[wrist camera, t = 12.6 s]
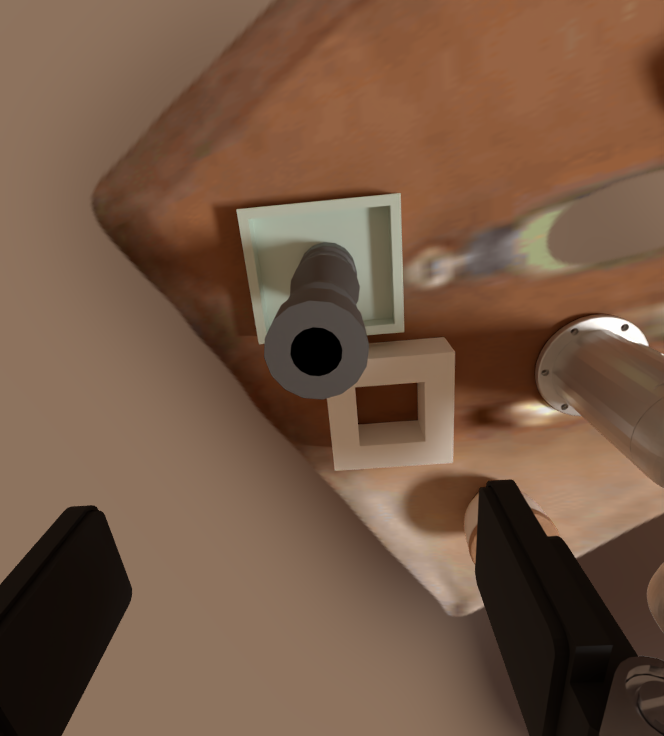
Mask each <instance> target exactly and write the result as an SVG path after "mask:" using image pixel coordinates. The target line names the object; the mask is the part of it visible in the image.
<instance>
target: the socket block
mask: <svg viewBox="0 0 664 736" xmlns="http://www.w3.org/2000/svg"><path fill="white" fill-rule="evenodd" d="M405 383H417V393H418V420H412V421H399V422H385V423H371V424H358V418H357V405H356V392H355V387H366V386H379V385H392V384H405ZM454 386H455V351H454V350H453V348H452V347H451V346H450V344H449V343H448V341H447V340H446V339H445V337H438V338H426V339H414V340H402V341H390V342H378V343H369V353H368V361H367V367H366V368H365V370H364V372H363V373H362V375H361V377H360V378H359V380H358V382H357V383H356V384H354V385H353V386H352V387H350V388H349V389H348V390H346V391H345V392H344V393H342V394H340V395H337V396H333V397H330V398H327V403H328V412H329V422H330V431H331V440H332V449H333V459H334V468H335V471H340V470H355V469H370V468H384V467H399V466H414V465H428V464H443V463H453V435H454Z"/></svg>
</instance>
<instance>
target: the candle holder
mask: <svg viewBox="0 0 664 736" xmlns="http://www.w3.org/2000/svg"><path fill="white" fill-rule="evenodd" d="M359 291H360V285H359V282H358V279H357V270H356V267H355V263H354V260H353V257H352V256H351V255H350V253H349V252H348V251H347V250H346V248H344V247H342V246H340V245H338V244H336V243H330V242H323V243H320V244H317V245H313V246H312V247H311V248H310V249H309V250H308V251H307V252H305V253H304V255H303V257H302V259H301V261H300V263H299V265H298V267H297V269H296V271H295V273H294V275H293V277H292V279H291V285H290V296H289V298H288V300H287V301H285V302H284V303H283V304H282V305H281V306H280V308H279V310H278V312H277V314H276V316H275V318H274V320H273V322H272V324H271V326H270V328H269V330H268V332H267V334H266V337H265V347H264V358H265V361H266V363H267V366H268V368H269V371H270V373H271V375H272V377H273V378H274V379H275V380H276V381H277V382H278V383H279V384H280V385H281V386H282V387H283V388H284V389H285V390H287V391H289V392H292V393H294V394H296V395H298V396H300V397H302V398H311V399H326V398H330V397H333V396H337V395H340V394H342V393H344V392H345V391H346V390H348V389H349V388H350V387H352V386H353V385H354V384H356V383H357V382H358V380H359V378H360V377H361V375H362V373H363V372H364V370H365V368H366V367H367V361H368V353H369V343H368V338H367V333H366V329H365V325H364V322H363V319H362V315H361V312H360V311H359V310H358V309H357V306H356V304H357V302H358V300H359Z"/></svg>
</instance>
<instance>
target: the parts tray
mask: <svg viewBox="0 0 664 736" xmlns="http://www.w3.org/2000/svg"><path fill="white" fill-rule="evenodd" d="M236 211H237V217H238V222H239V228H240V234H241V240H242V246H243V252H244V258H245V264H246V270H247V276H248V282H249V288H250V294H251V300H252V306H253V312H254V318H255V324H256V330H257V336H258V342H259V344H265V337H266V334H267V332H268V330H269V328H270V326H271V324H272V322H273V320H274V318H275V316H276V314H277V312H278V310H279V308H280V306H281V305H282V304H283V303H284V302H285V301H287V300H288V298H289V296H290V285H291V279H292V277H293V275H294V273H295V271H296V269H297V267H298V265H299V263H300V261H301V259H302V257H303V255H304V253H305V252H307V251H308V250H309V249H310V248H311V247H312V246H313V245H317V244H320V243H323V242H330V243H336V244H338V245H340V246H342V247H344V248H346V250H347V251H348V252H349V253H350V255H351V256H352V257H353V260H354V263H355V267H356V270H357V279H358V282H359V285H360V291H359V300H358V302H357V304H356V306H357V309H358V310H359V311H360V312H361V315H362V319H363V322H364V325H365V329H366V333H367V335H376V334H388V333H400V332H404V301H403V265H402V230H401V194H400V193H393V194H383V195H373V196H363V197H353V198H343V199H332V200H322V201H312V202H302V203H292V204H282V205H272V206H262V207H252V208H242V209H236Z"/></svg>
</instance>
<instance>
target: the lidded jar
mask: <svg viewBox="0 0 664 736" xmlns="http://www.w3.org/2000/svg"><path fill="white" fill-rule="evenodd" d="M521 493H522V495H523V496H524V498H525V500H526V501H527V503H528V505H529V506H530V508H531V510H532V511H533V513H534V515H535V516H536V518H537V520H538V521H539V523H540V525H541V526H542V528H543V530H544V531H545V533H546V535H547V536H559V533H558V530H557V528H556V527H555V525H554V523H553V522H552V521H551V520H550V519H549V517H548V516H547V515H546V513H545V512H544V510H543V509H542V508H541V507H540V506H539V505H538V504H537V502H535V501H534V500H533V499H532V498H531V497H530V496H528V495H527V494H525V493H523V492H521ZM478 500H479V493H478V494H477V495H476V496H475V497H474V498H473V499H472V501H471V502H470V503H469V505H468V507H467V509H466V512H465V517H464V531H465V537H466V541H467V544H468V547H469V553H470V556H471V558H472V561H473V562H474V564H475V562H476V541H477V521H478Z"/></svg>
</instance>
